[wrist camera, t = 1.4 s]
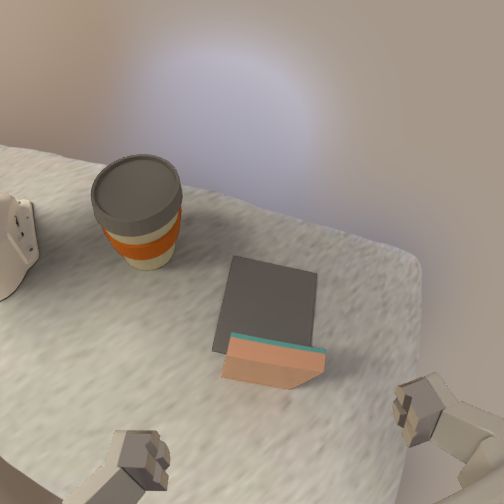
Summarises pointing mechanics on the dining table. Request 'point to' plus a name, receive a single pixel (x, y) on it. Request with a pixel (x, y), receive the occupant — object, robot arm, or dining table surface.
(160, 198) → the reusable coffee cup
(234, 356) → the tile
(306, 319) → the mat
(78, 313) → the dining table surface
